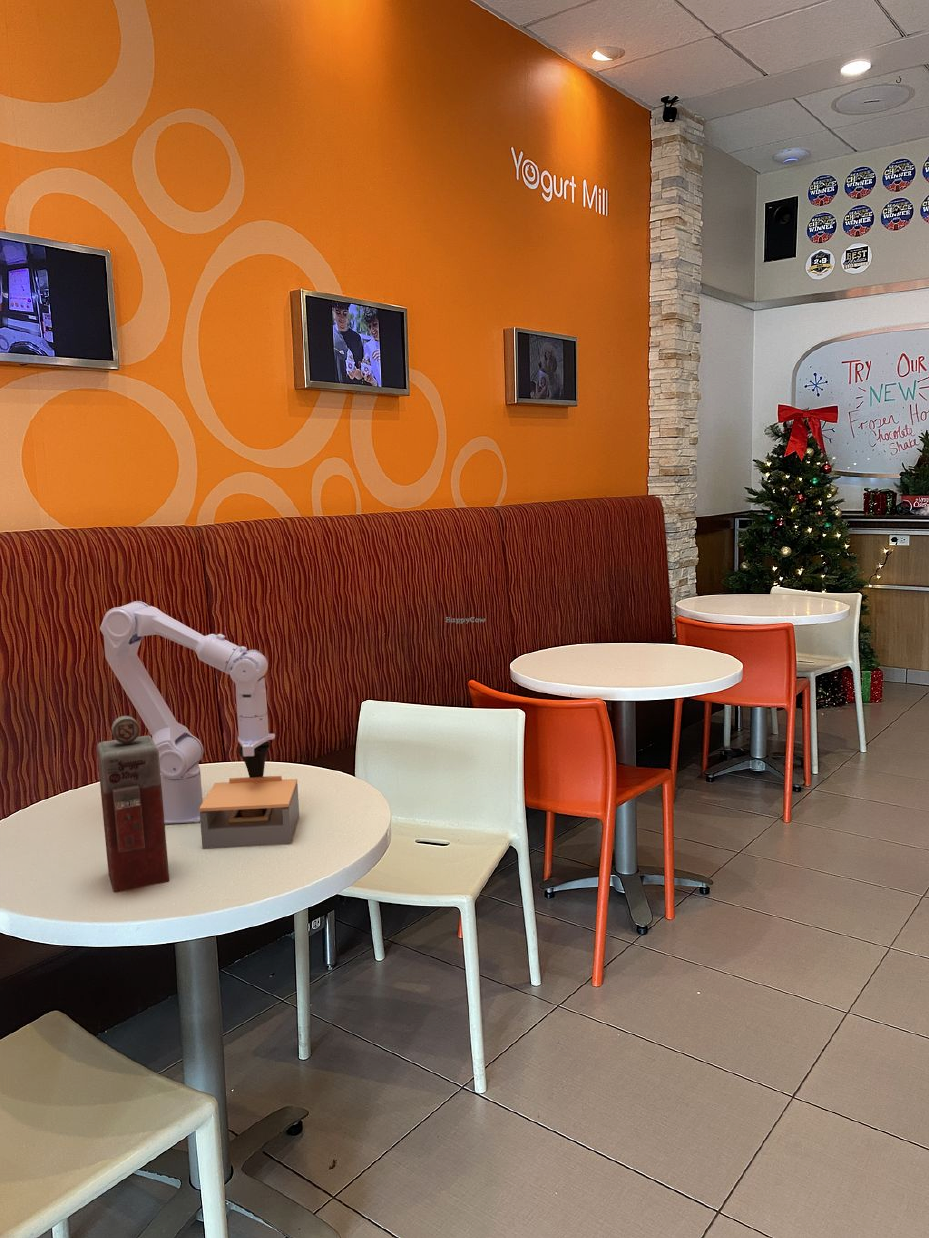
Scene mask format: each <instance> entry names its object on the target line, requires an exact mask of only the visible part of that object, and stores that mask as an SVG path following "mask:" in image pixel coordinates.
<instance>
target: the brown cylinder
mask: <svg viewBox="0 0 929 1238" xmlns="http://www.w3.org/2000/svg"><path fill="white" fill-rule="evenodd" d="M260 816H263V811H262V808H259V809H241V817H260Z"/></svg>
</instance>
